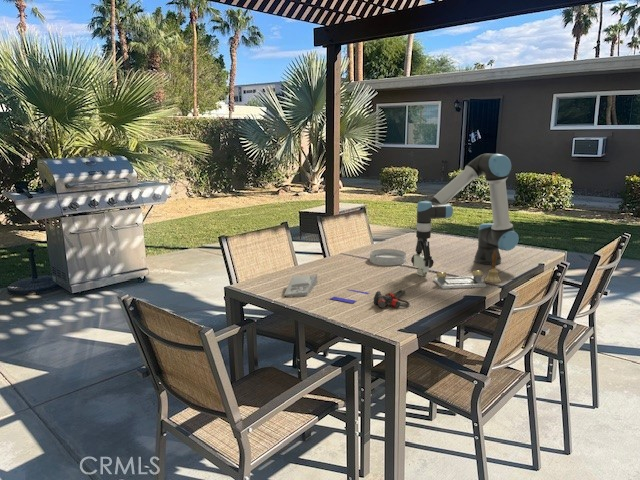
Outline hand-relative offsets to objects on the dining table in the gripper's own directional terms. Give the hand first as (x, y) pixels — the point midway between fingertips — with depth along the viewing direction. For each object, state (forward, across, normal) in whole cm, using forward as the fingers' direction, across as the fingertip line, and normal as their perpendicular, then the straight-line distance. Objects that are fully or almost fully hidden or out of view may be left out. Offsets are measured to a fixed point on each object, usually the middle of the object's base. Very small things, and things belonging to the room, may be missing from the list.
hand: (422, 268), depth 261 cm
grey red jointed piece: (+4, +41, -24) cm, 47 cm away
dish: (+4, -33, -12) cm, 35 cm away
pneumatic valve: (+4, 0, 0) cm, 4 cm away
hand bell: (+4, +15, +33) cm, 37 cm away
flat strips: (+4, +27, -42) cm, 50 cm away
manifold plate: (+4, +18, +14) cm, 23 cm away
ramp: (+5, +16, -67) cm, 69 cm away
